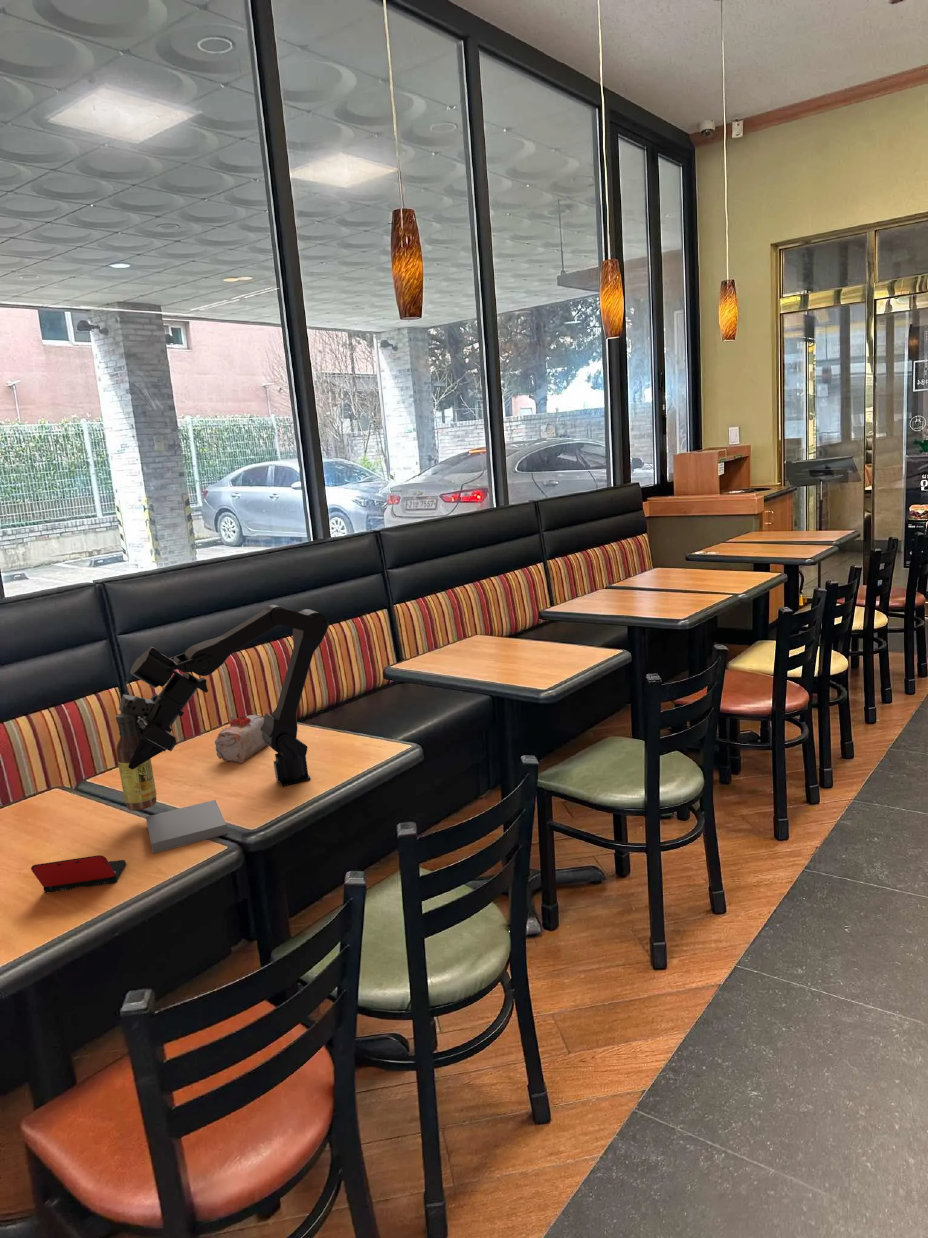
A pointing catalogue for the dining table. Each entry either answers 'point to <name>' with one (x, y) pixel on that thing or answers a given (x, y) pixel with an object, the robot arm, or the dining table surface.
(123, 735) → the sauce bottle
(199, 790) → the dining table surface
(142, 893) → the dining table surface
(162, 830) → the stand
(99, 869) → the handheld game console
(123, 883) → the dining table surface
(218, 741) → the food item
